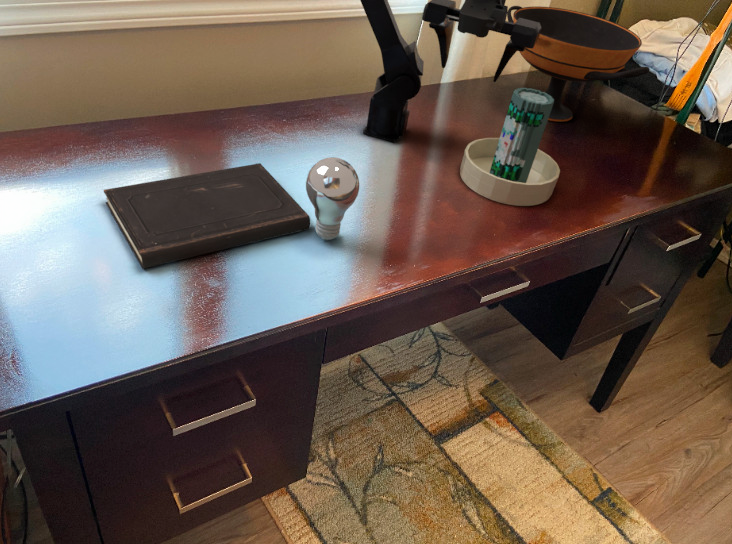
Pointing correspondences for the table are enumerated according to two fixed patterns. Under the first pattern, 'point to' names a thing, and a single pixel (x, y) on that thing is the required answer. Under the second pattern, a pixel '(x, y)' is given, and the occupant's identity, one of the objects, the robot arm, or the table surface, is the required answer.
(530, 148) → the can
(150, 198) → the hardcover book
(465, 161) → the pan
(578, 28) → the footed terracotta bowl
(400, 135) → the robot arm
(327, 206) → the light bulb
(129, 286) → the table surface
